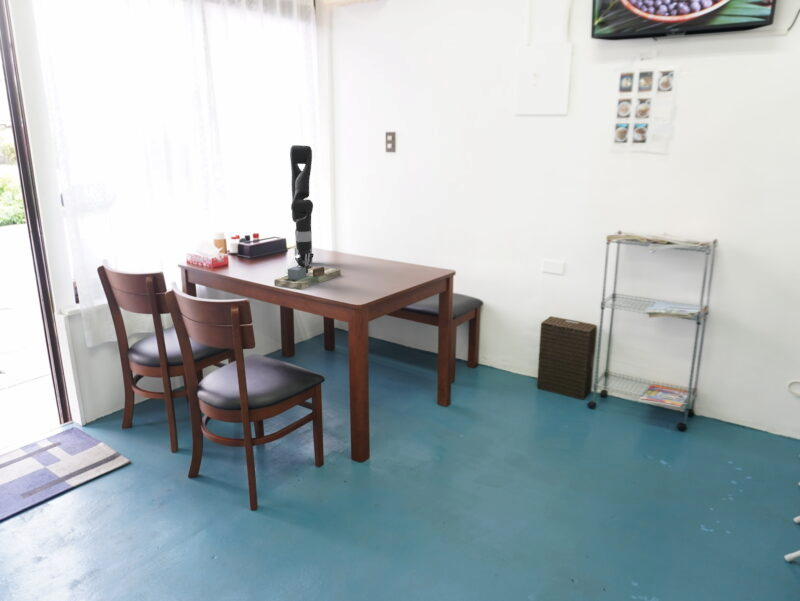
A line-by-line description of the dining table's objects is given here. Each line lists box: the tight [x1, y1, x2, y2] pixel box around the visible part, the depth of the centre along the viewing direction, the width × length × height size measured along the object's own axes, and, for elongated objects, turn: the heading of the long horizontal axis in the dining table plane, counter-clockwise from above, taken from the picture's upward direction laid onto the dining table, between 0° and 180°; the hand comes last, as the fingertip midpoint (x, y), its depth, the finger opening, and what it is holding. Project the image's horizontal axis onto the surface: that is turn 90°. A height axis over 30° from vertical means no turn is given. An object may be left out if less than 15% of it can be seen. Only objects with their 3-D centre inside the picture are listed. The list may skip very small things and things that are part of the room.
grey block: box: [287, 266, 306, 280], centre depth 283 cm, size 6×7×5 cm
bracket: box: [285, 254, 314, 275], centre depth 317 cm, size 13×10×20 cm
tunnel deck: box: [273, 266, 342, 290], centre depth 291 cm, size 16×35×6 cm, turn 153°
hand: (305, 273), depth 288 cm, fingers closed
